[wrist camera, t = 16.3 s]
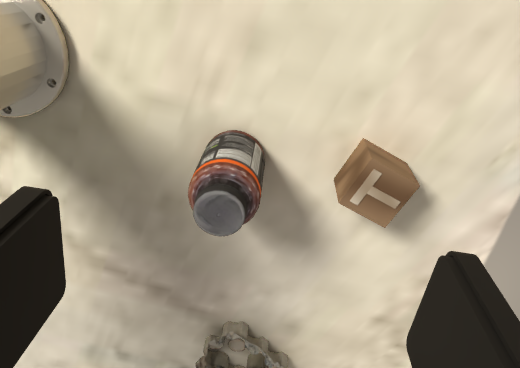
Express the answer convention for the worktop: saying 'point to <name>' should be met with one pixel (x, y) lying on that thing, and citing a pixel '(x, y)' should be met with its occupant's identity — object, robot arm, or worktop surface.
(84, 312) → the worktop surface
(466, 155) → the worktop surface
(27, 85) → the robot arm
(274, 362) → the egg carton
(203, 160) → the supplement bottle
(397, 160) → the letter t block
